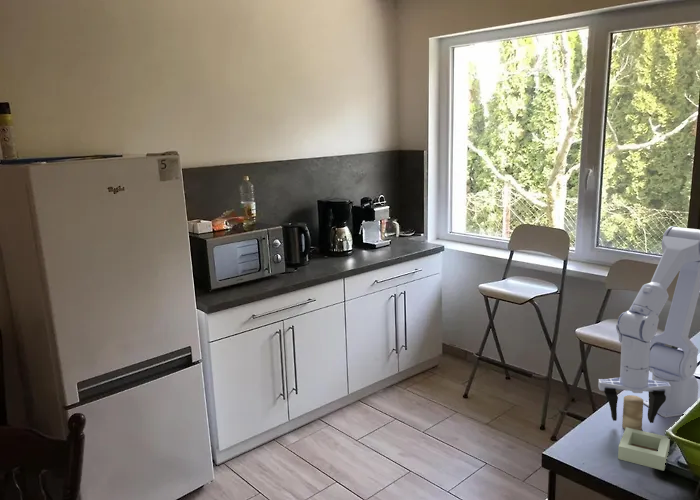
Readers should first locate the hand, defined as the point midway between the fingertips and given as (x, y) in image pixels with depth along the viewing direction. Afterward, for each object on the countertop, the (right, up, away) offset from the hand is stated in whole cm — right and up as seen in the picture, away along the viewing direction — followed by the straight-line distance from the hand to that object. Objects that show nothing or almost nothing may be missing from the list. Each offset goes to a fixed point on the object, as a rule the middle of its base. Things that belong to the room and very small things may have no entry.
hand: (632, 419), depth 130 cm
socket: (-3, -4, -10) cm, 11 cm away
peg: (0, -2, 0) cm, 2 cm away
